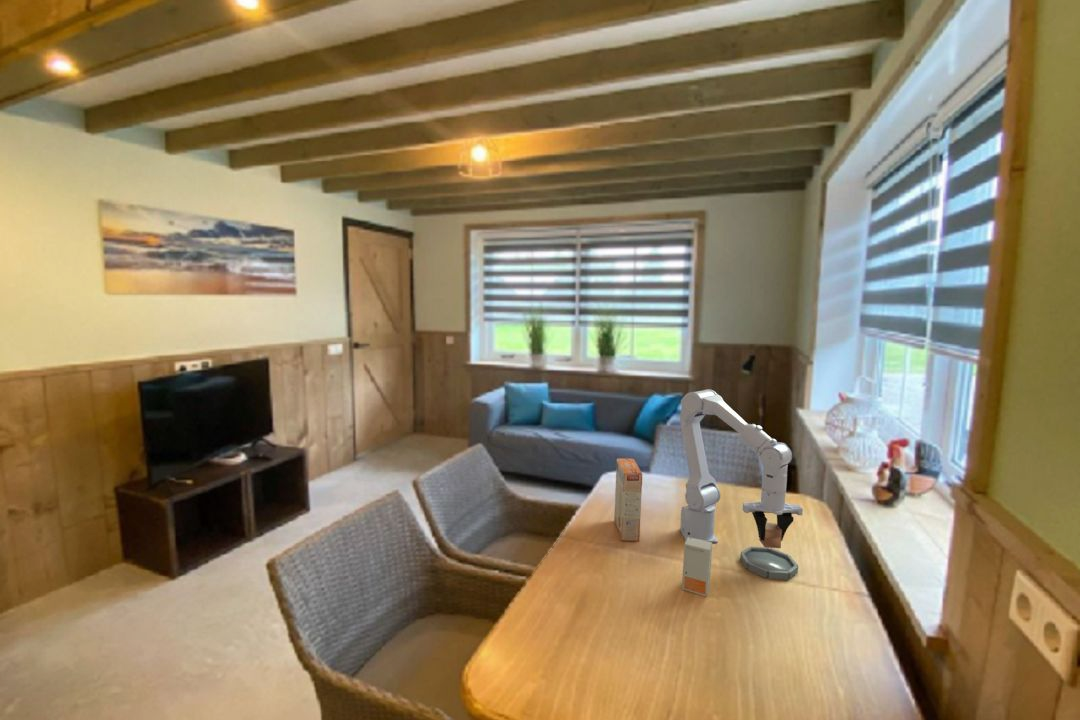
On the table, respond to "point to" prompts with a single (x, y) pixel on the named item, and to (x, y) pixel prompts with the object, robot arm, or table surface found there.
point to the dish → (769, 563)
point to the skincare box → (697, 566)
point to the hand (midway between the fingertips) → (770, 538)
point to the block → (772, 536)
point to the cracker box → (628, 499)
